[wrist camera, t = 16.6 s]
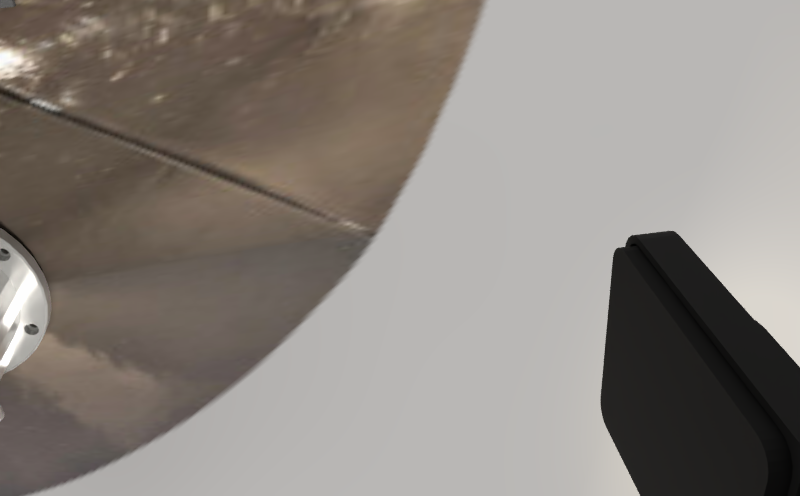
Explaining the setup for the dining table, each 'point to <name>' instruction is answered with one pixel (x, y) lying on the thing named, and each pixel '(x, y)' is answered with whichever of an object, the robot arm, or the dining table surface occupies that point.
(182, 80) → the dining table surface
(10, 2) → the mat
